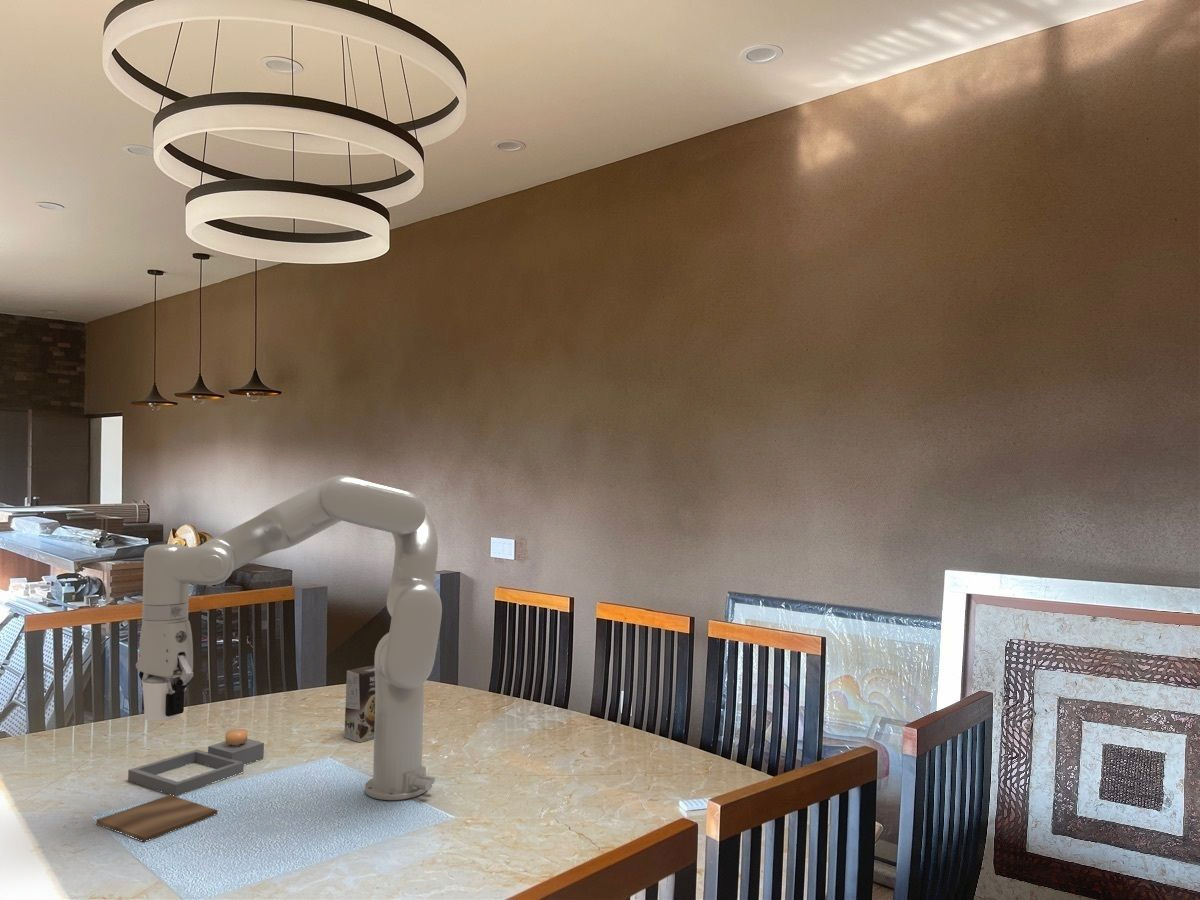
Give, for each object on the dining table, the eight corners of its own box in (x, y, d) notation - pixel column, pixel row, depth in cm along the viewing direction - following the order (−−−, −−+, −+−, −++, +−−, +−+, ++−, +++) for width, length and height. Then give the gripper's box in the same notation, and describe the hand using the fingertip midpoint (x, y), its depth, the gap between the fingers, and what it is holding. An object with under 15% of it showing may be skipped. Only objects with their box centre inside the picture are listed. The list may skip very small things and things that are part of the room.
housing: (274, 762, 185) (275, 745, 185) (175, 796, 165) (175, 778, 165) (228, 749, 193) (229, 734, 193) (128, 780, 172) (128, 763, 173)
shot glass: (170, 722, 151) (172, 683, 152) (132, 721, 152) (134, 682, 152) (190, 711, 158) (191, 674, 158) (153, 710, 158) (155, 673, 159)
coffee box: (360, 743, 199) (362, 674, 200) (343, 737, 203) (345, 669, 203) (391, 734, 206) (393, 667, 207) (374, 729, 210) (376, 663, 211)
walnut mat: (217, 814, 157) (217, 810, 157) (144, 842, 144) (144, 837, 144) (169, 798, 164) (170, 794, 164) (96, 824, 151) (96, 819, 151)
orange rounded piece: (251, 751, 186) (251, 731, 186) (233, 757, 183) (234, 736, 183) (238, 747, 189) (238, 727, 189) (220, 753, 185) (221, 733, 185)
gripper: (214, 614, 154) (211, 714, 154) (156, 605, 163) (153, 700, 162) (175, 620, 148) (172, 724, 147) (117, 610, 156) (114, 709, 156)
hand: (162, 710), depth 155 cm, fingers closed on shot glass, 6 cm apart
